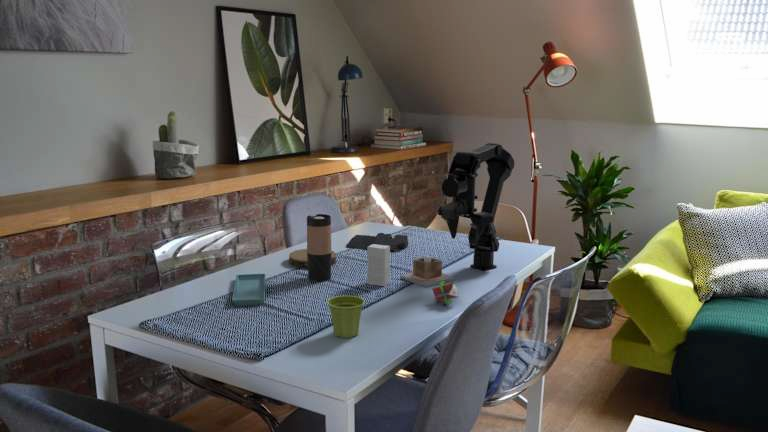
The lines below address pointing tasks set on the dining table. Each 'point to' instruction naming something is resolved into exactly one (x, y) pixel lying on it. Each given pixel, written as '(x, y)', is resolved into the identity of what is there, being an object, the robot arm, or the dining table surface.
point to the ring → (427, 268)
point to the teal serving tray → (249, 289)
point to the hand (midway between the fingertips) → (464, 241)
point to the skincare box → (378, 264)
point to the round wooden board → (304, 258)
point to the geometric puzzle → (445, 292)
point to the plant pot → (346, 315)
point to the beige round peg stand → (428, 282)
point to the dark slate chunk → (379, 241)
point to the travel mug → (319, 247)
